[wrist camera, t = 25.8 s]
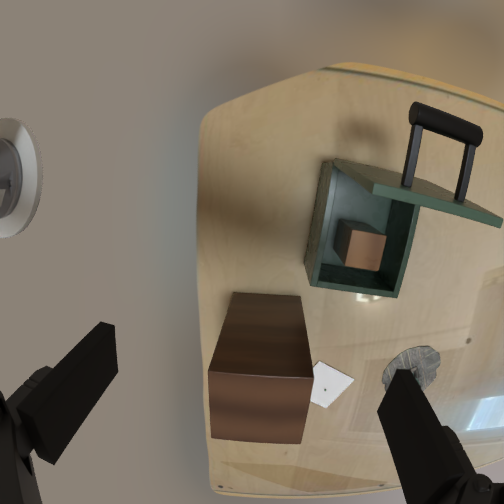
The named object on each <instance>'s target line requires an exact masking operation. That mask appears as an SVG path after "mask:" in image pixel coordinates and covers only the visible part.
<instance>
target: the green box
mask: <svg viewBox="0 0 504 504" xmlns="http://www.w3.org/2000/svg"><path fill="white" fill-rule="evenodd" d="M419 210H420V206H419V205H415V204H411V203H407V202H402V201H398V200H394V199H390V198H385V197H381V196H376V195H372V194H371V193H370V192H368V191H367V190H366V189H365V188H363V187H362V186H361V185H360V184H358V183H357V182H356V181H354V180H353V179H352V178H350V177H349V176H348V175H347V174H345V173H344V172H343V171H341V170H340V169H339V168H337V167H336V166H334V162H327V163H322V166H321V172H320V178H319V184H318V190H317V196H316V202H315V207H314V213H313V219H312V224H311V230H310V235H309V240H308V245H307V251H306V256H305V261H304V266H305V269H306V273H307V276H308V280H309V283H310V286H314V287H316V286H317V287H321V288H328V289H334V290H341V291H348V292H355V293H362V294H369V295H377V296H384V297H392V298H397V297H398V294H399V291H400V287H401V284H402V280H403V277H404V273H405V269H406V266H407V262H408V258H409V254H410V250H411V246H412V242H413V238H414V233H415V229H416V224H417V220H418V215H419ZM339 219H344V220H350V221H355V222H360V223H365V224H369V225H370V226H372V227H374V228H375V229H377V230H378V231H380V232H381V233H383V234H384V235H386V236H387V237H386V242H385V246H384V250H383V254H382V258H381V262H380V266H379V270H378V271H374V270H367V269H361V268H355V267H349V266H344V264H343V263H342V261H341V260H340V258H339V257H338V255H337V254H336V252H335V251H334V249H333V247H334V242H335V237H336V232H337V227H338V222H339Z"/></svg>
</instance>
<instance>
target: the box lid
mask: <svg viewBox="0 0 504 504" xmlns="http://www.w3.org/2000/svg"><path fill="white" fill-rule="evenodd" d="M409 123H410V124H411V125H412V127H411V133H410V139H409V144H408V150H407V155H406V160H405V165H404V170H403V174H401V173H397V172H393V171H389V170H385V169H381V168H377V167H373V166H369V165H364V164H360V163H355V162H351V161H346V160H341V159H337V158H335V161H334V166H336V167H337V168H339V169H340V170H341V171H343V172H344V173H345V174H347V175H348V176H349V177H350V178H352V179H353V180H354V181H356V182H357V183H358V184H360V185H361V186H362V187H363V188H365V189H366V190H367V191H368V192H370V193H371V194H372V195H376V196H381V197H385V198H390V199H394V200H398V201H402V202H407V203H411V204H415V205H419V206H423V207H427V208H431V209H434V210H438V211H442V212H446V213H449V214H453V215H457V216H460V217H464V218H467V219H471V220H474V221H478V222H481V223H484V224H487V225H491V226H494V227H497V228H501V226H502V222H503V218H501V217H499V216H497V215H495V214H494V213H492V212H490V211H488V210H486V209H484V208H482V207H480V206H479V205H477V204H475V203H473V202H471V201H469V200H467V199H465V196H466V192H467V188H468V184H469V179H470V175H471V170H472V165H473V160H474V155H475V150H476V147H478V146H479V145H480V144H481V142H482V139H483V131H482V129H481V127H480V126H477V125H475V124H473V123H471V122H468V121H466V120H464V119H461V118H459V117H456V116H454V115H451V114H449V113H446V112H444V111H441V110H438V109H436V108H433V107H430V106H427V105H425V104H422V103H419V102H414V103H413V104H412V105H411V107H410V110H409ZM423 129H426V130H429V131H432V132H435V133H437V134H440V135H443V136H446V137H449V138H451V139H454V140H457V141H459V142H462V143H464V144H465V149H464V154H463V159H462V164H461V169H460V174H459V179H458V183H457V187H456V191H455V193H453V192H451V191H448V190H446V189H444V188H442V187H440V186H438V185H436V184H433V183H431V182H429V181H427V180H423V179H420V178H416V177H414V173H415V168H416V164H417V159H418V153H419V148H420V143H421V137H422V131H423Z"/></svg>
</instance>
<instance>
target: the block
mask: <svg viewBox="0 0 504 504" xmlns="http://www.w3.org/2000/svg"><path fill="white" fill-rule="evenodd" d="M386 237H387V236H386V235H384V234H383V233H381V232H380V231H378V230H377V229H375V228H374V227H372V226H370V225H369V224H365V223H360V222H355V221H350V220H344V219H339V222H338V227H337V232H336V237H335V242H334V247H333V249H334V251H335V252H336V254H337V255H338V257H339V258H340V260H341V261H342V263H343V264H344V266H349V267H355V268H361V269H367V270H374V271H378V270H379V266H380V262H381V258H382V254H383V250H384V246H385V242H386Z"/></svg>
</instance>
